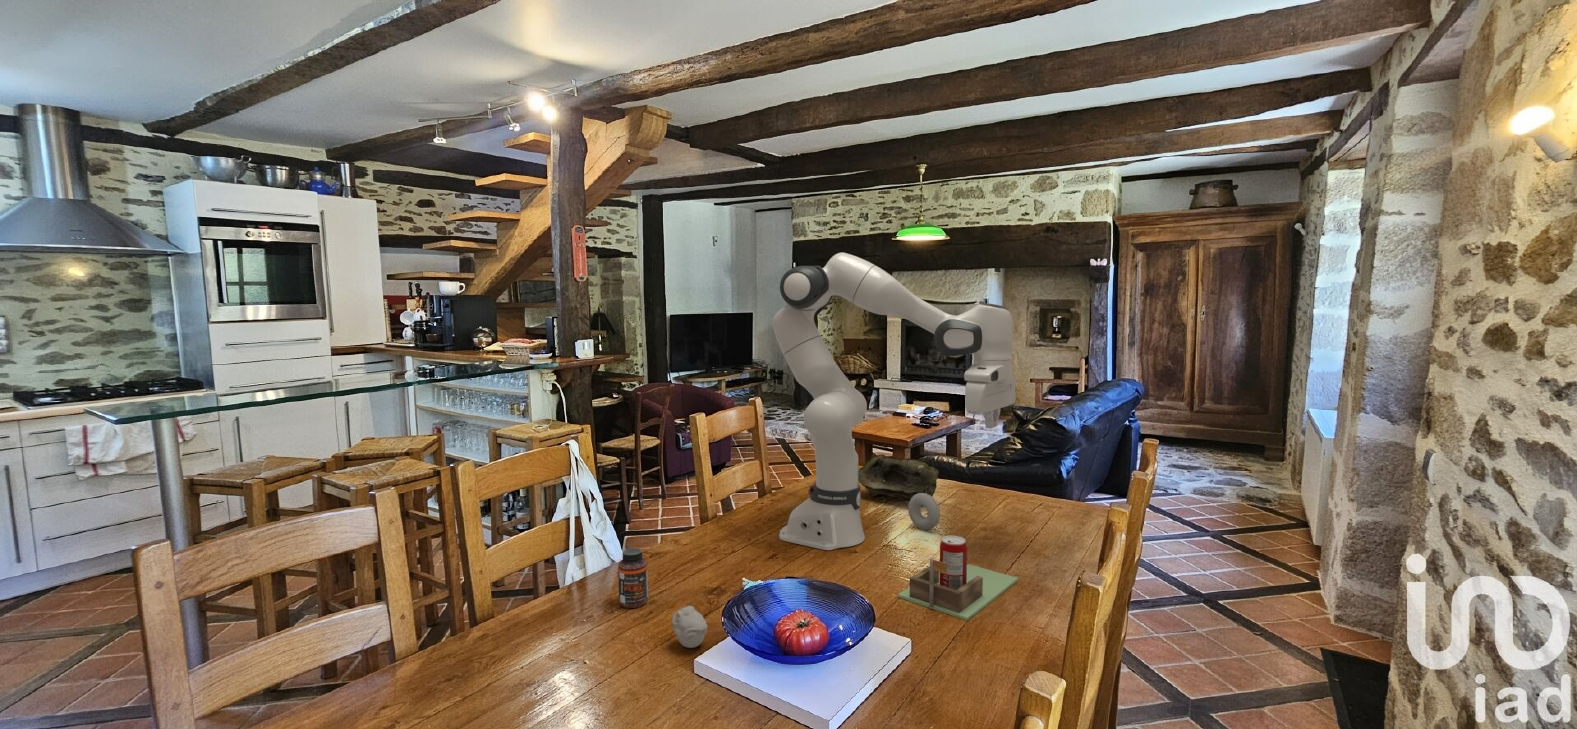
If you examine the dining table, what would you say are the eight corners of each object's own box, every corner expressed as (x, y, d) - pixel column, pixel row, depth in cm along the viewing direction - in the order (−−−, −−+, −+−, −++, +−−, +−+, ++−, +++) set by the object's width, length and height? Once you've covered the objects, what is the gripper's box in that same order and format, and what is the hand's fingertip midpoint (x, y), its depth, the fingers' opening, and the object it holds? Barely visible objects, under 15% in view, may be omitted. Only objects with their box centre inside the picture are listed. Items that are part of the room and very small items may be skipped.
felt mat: (952, 562, 160) (952, 559, 160) (1018, 580, 150) (1018, 578, 150) (897, 597, 143) (897, 594, 142) (967, 620, 132) (967, 617, 132)
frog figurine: (690, 633, 129) (688, 598, 128) (715, 644, 124) (714, 608, 124) (665, 646, 124) (664, 610, 123) (691, 659, 120) (690, 621, 119)
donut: (942, 532, 180) (943, 496, 179) (934, 535, 178) (935, 499, 177) (913, 523, 188) (913, 488, 187) (905, 526, 185) (905, 490, 184)
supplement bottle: (623, 612, 138) (620, 558, 137) (616, 600, 143) (614, 548, 142) (651, 605, 140) (649, 553, 139) (644, 594, 146) (642, 543, 144)
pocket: (934, 580, 149) (934, 537, 148) (982, 595, 141) (983, 549, 140) (906, 598, 140) (906, 552, 139) (956, 615, 133) (956, 566, 132)
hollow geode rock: (938, 525, 199) (960, 483, 204) (919, 503, 192) (942, 460, 197) (867, 501, 220) (888, 463, 225) (848, 480, 213) (871, 442, 218)
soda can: (956, 585, 146) (957, 532, 145) (971, 596, 141) (972, 541, 140) (934, 590, 144) (935, 535, 143) (948, 601, 139) (949, 544, 138)
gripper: (998, 366, 172) (997, 419, 173) (960, 374, 157) (959, 432, 158) (1022, 367, 168) (1021, 422, 169) (986, 376, 152) (985, 436, 154)
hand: (991, 427), depth 163 cm, fingers closed
